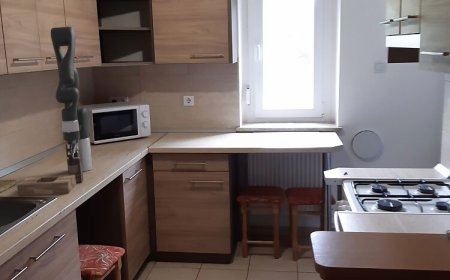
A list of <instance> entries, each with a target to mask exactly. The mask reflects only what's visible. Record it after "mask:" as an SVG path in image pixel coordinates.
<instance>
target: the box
mask: <svg viewBox="0 0 450 280" xmlns="http://www.w3.org/2000/svg"><path fill="white" fill-rule="evenodd" d="M66 164H67V174H68V175H75V178H76V184H80V183H83V182H84V171H82V162H81V157H74V165H72V166H70V165H69V158H68V157H67V158H66Z"/></svg>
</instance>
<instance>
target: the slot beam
mask: <svg viewBox="0 0 450 280" xmlns="http://www.w3.org/2000/svg"><path fill="white" fill-rule="evenodd" d="M76 186H77V183H76V178H75V175H69V174H63V175H62V174H61V175H60V174H59V175H41V176H28V177H26V178H24V179H23V180H22V181H21V182H19V183H17V185H16V188H17V195H18V197H24V196H25V197H27V196H42V195H45V196H46V195H60V194H61V195H65V194H70V192H71V191H72V190H73V189H74V188H75V187H76Z"/></svg>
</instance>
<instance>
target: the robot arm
mask: <svg viewBox="0 0 450 280" xmlns="http://www.w3.org/2000/svg"><path fill="white" fill-rule="evenodd" d="M50 40H51V42H52V43H51V44H52V47H53V51H54V55H55V60H56V64H57V71H58V85H57V88H56V91H55V100H56V102H57V103H59V104H64V108H62V109H61V121H62V123H61V125H62V126H61V127H62V129H61V131H62V138H63V140H64V141H65V142H67V144H65V150H66V151H65V155H66V158H67V159H68V158H69V165H70V166H72V165H74V157H81V162H82V172H89V171H92V170H93V162H92V151H91V148H92V147H91V140H90V139H91V138H90V125H89V123H90V122H89V111H88V109H87V108H86V107H78V104H79V99H80V91H79V87H80V78H79V77H80V76H79V72H78V69H77V68H76V66H75V65H74V64H75V57H76V56H75V53H76V34H75V30H74V28H73V27H72V26H59V27H57V26H56V27H52V28H51V29H50ZM62 47H67V50H66V53H65V54H64V52H63V49H62Z"/></svg>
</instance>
